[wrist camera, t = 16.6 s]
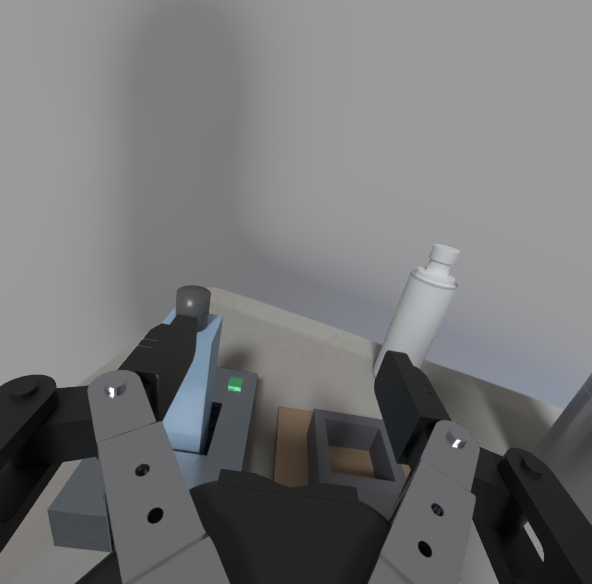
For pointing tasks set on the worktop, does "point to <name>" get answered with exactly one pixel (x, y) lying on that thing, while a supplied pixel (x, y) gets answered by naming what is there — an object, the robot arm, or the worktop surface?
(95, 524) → the port block
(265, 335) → the worktop surface
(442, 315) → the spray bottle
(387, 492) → the holster
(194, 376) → the plug
